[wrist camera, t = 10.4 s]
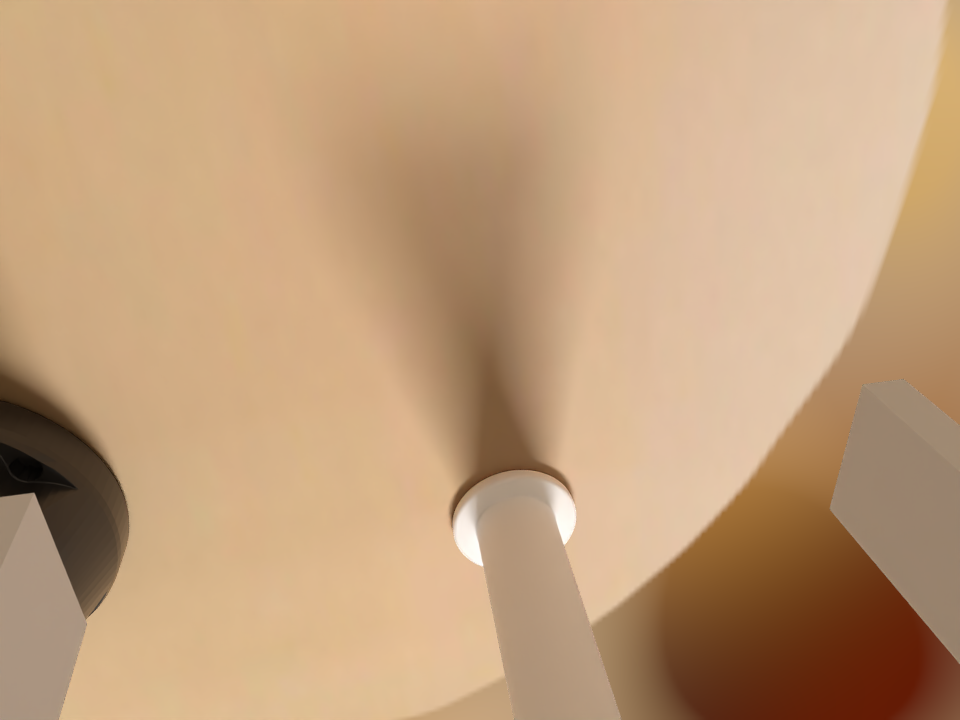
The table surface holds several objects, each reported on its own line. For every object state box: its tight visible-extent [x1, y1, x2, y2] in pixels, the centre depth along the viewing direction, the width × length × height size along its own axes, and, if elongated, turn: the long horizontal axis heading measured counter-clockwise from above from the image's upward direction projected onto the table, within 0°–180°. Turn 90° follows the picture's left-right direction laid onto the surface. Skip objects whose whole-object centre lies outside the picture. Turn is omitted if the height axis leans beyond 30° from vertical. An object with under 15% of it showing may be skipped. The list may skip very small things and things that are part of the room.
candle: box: [452, 470, 621, 720], centre depth 35 cm, size 7×7×25 cm
